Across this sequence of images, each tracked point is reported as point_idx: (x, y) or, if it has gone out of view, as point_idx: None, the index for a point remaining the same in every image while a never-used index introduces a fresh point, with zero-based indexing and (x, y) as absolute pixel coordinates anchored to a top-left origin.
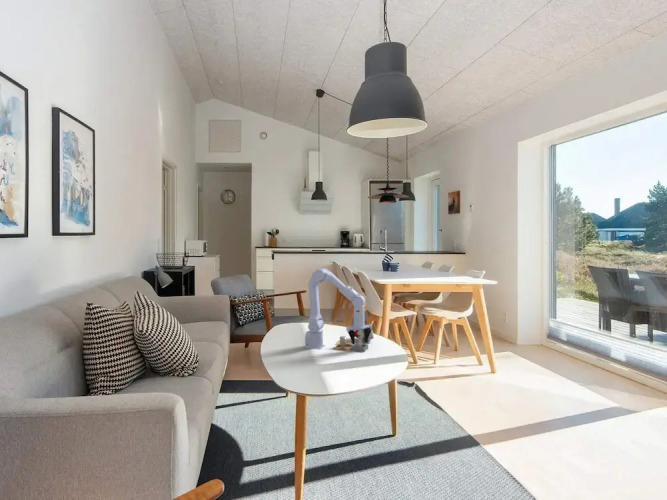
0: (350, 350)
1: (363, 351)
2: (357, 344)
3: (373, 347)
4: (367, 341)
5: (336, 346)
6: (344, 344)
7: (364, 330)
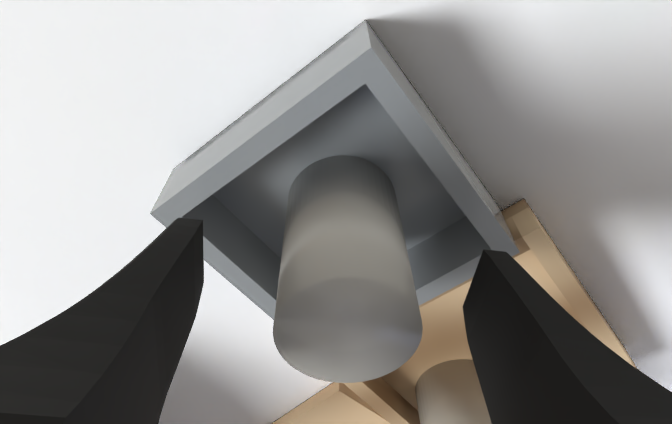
0: None
1: (372, 37)
2: (405, 242)
3: (48, 203)
4: (167, 228)
5: None
6: (474, 396)
7: None
